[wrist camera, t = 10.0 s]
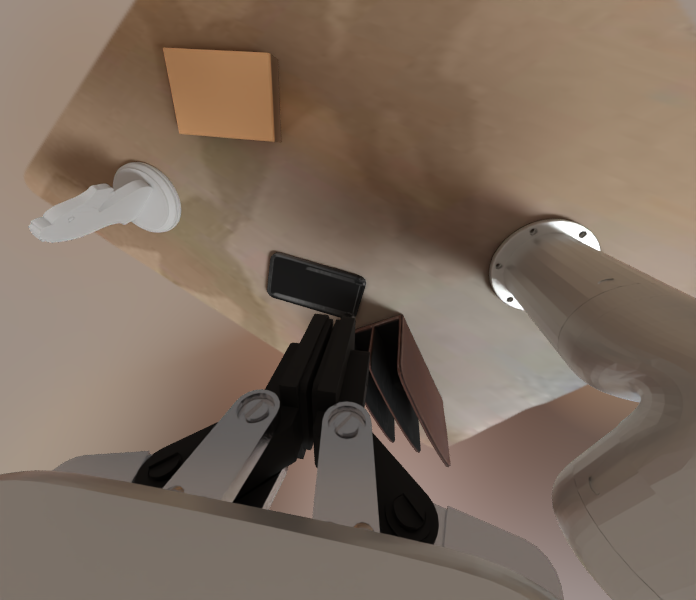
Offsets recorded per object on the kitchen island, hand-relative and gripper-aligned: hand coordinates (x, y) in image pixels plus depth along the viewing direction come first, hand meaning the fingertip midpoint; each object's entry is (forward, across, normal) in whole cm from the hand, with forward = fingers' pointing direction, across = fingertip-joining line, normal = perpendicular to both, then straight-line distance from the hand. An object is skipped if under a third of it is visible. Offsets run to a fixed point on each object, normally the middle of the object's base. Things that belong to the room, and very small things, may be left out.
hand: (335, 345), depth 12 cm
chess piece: (+29, +34, 0) cm, 45 cm away
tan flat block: (+28, +13, -12) cm, 33 cm away
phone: (+30, +9, +12) cm, 33 cm away
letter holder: (+30, -5, +26) cm, 40 cm away
